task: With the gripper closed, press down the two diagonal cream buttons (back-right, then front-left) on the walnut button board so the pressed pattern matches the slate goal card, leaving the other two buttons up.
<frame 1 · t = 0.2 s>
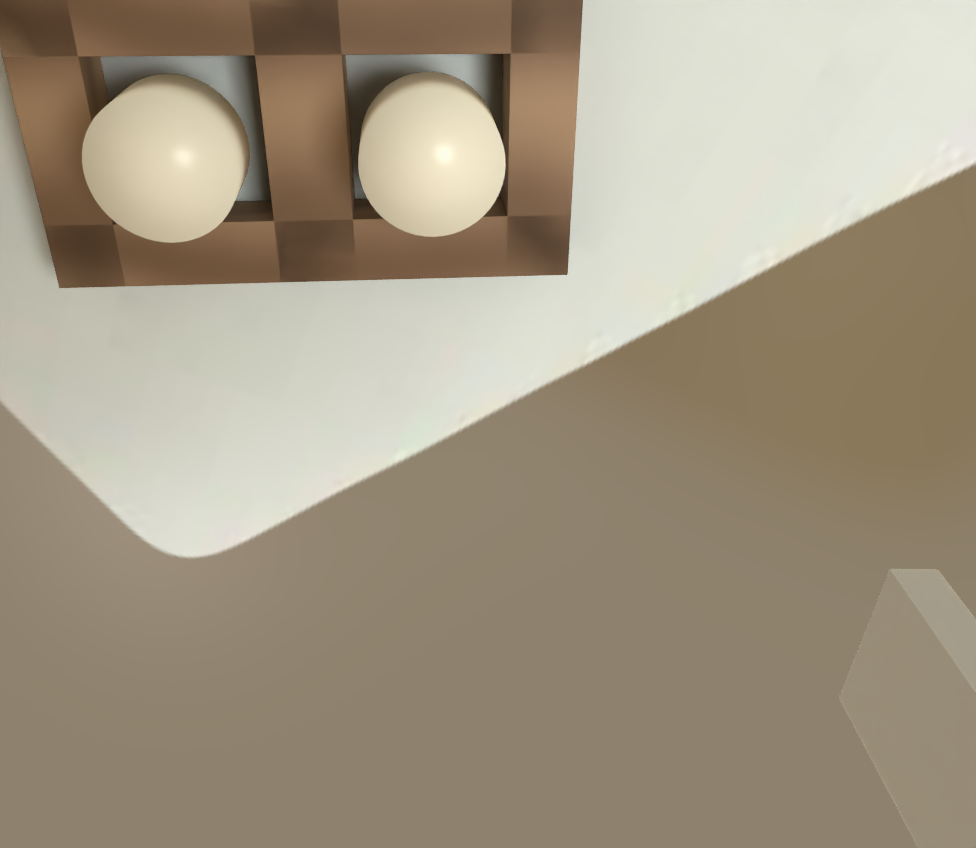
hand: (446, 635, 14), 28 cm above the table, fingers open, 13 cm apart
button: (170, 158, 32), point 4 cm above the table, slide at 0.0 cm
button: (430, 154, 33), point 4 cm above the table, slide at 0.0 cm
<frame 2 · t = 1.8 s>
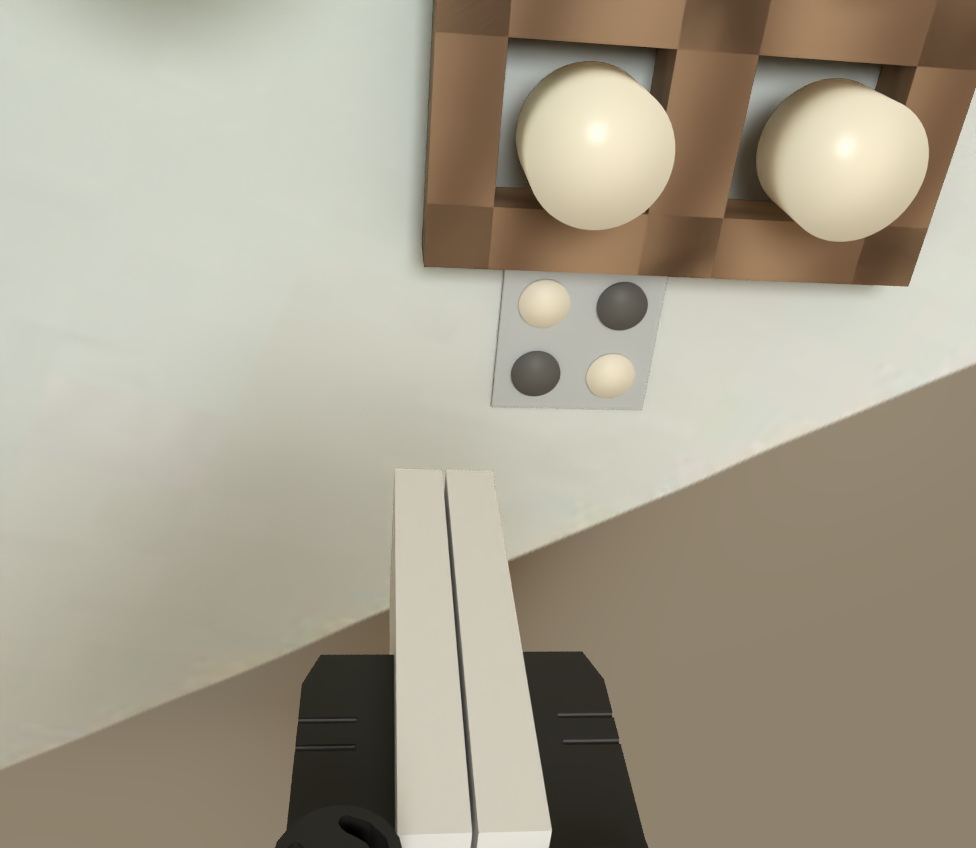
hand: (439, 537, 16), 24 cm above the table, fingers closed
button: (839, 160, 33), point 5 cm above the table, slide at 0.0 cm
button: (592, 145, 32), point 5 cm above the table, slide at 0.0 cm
goal card: (576, 336, 41), on the table
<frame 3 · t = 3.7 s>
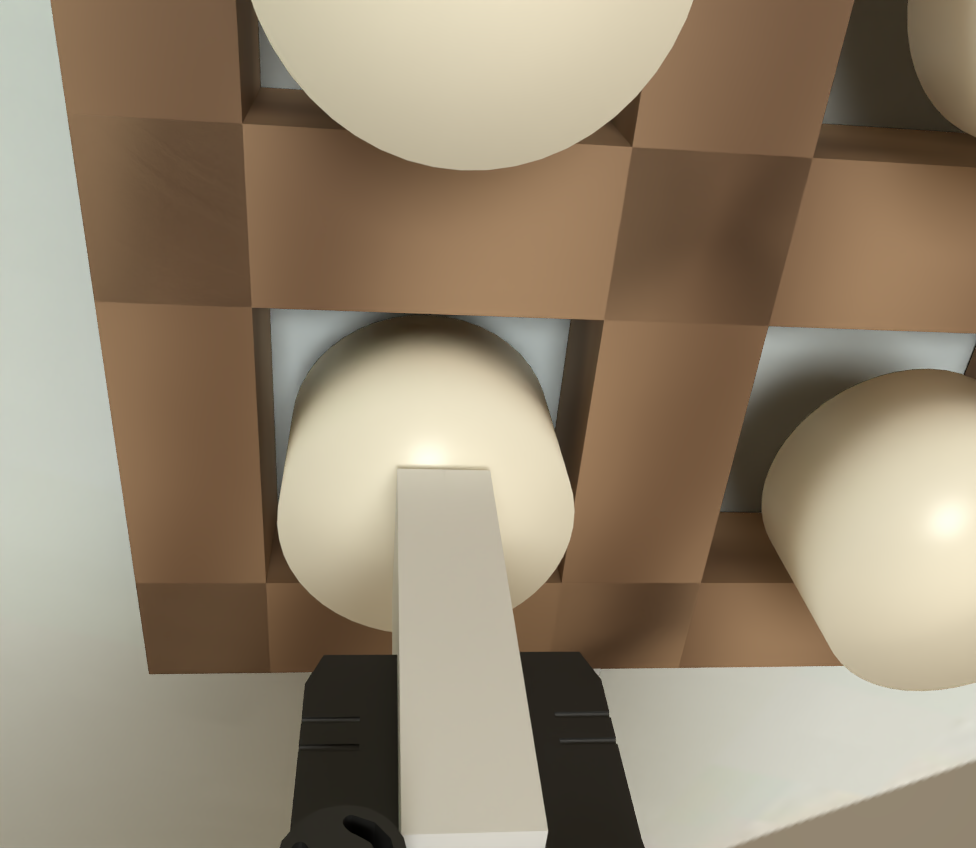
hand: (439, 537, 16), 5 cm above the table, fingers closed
board: (666, 195, 18), on the table
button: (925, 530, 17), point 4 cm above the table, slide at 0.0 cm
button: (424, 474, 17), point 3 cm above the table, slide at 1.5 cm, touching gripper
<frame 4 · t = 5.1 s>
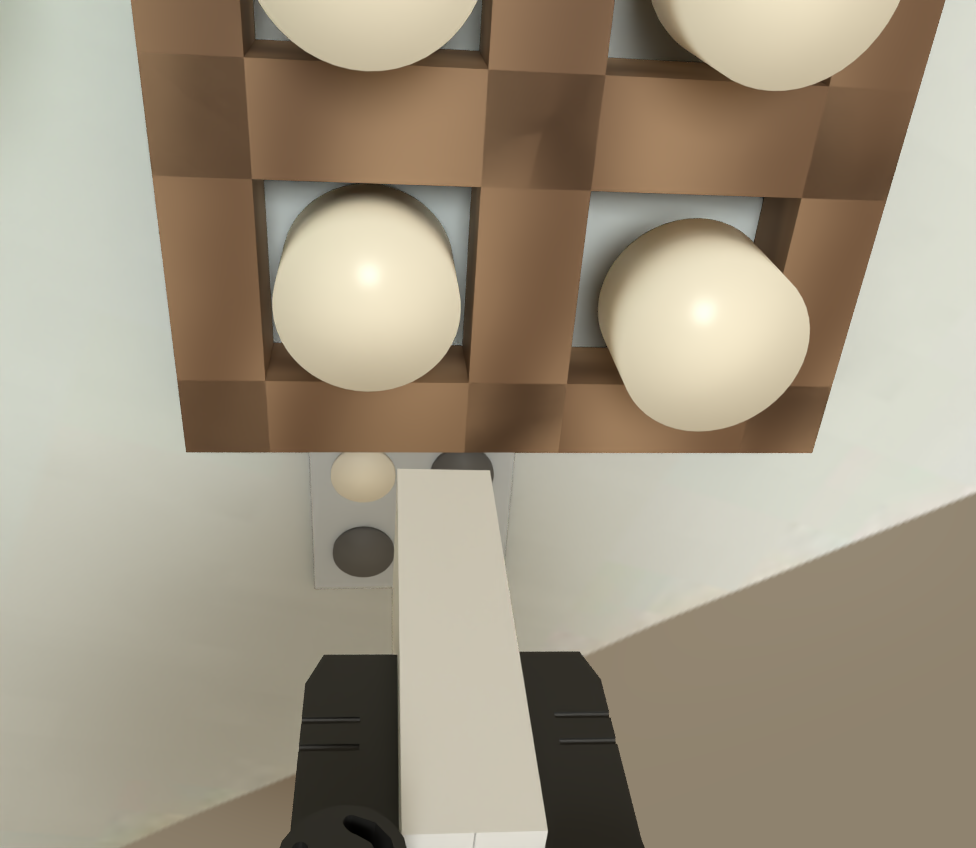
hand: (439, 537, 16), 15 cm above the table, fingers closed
board: (528, 109, 27), on the table
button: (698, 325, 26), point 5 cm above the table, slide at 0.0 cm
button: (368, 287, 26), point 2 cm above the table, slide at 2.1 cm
goal card: (411, 507, 33), on the table
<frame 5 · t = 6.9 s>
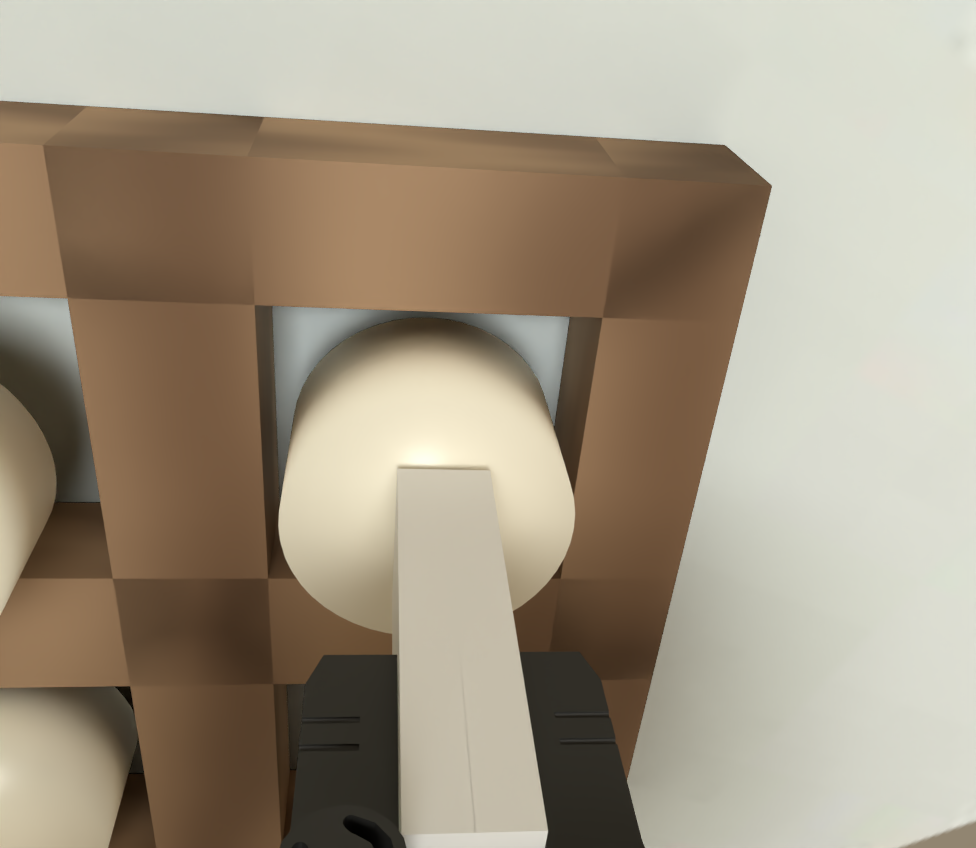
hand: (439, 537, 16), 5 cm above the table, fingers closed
board: (215, 556, 22), on the table
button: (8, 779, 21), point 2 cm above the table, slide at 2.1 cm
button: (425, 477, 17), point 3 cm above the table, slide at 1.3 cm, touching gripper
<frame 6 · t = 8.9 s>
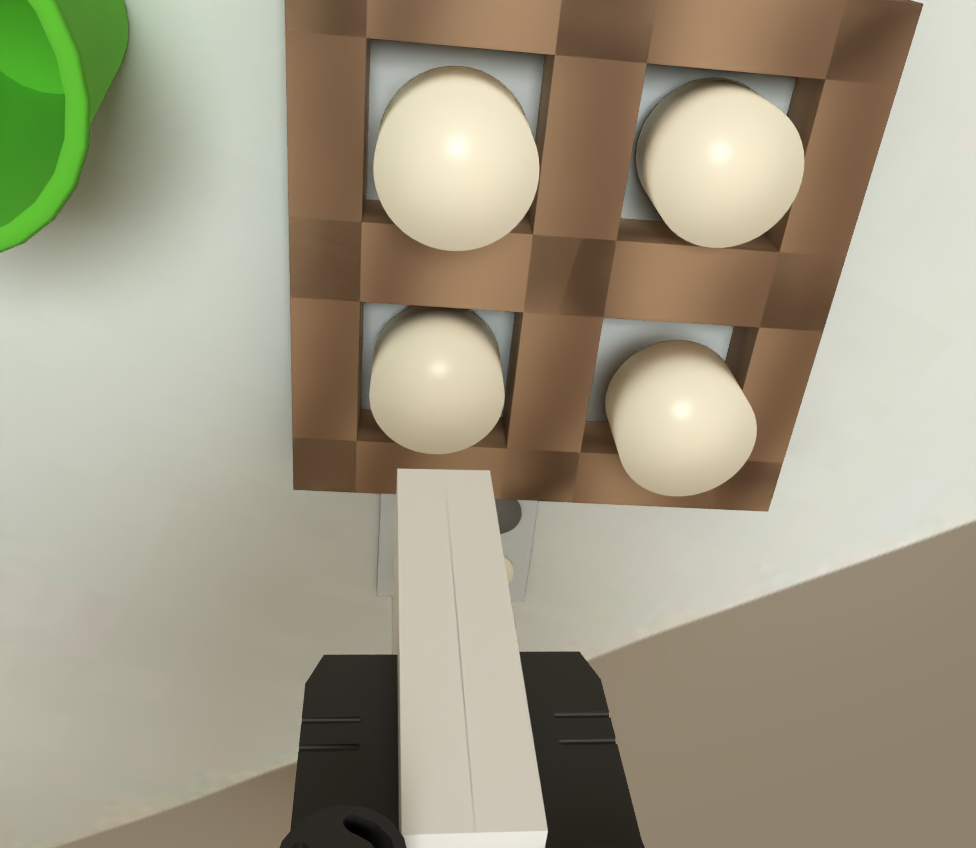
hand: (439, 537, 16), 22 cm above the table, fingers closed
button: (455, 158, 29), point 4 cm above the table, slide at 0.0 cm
board: (561, 252, 36), on the table
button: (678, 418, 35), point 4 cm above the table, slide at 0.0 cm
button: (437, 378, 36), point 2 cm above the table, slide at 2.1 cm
goal card: (456, 536, 43), on the table
cup: (51, 11, 31), on the table
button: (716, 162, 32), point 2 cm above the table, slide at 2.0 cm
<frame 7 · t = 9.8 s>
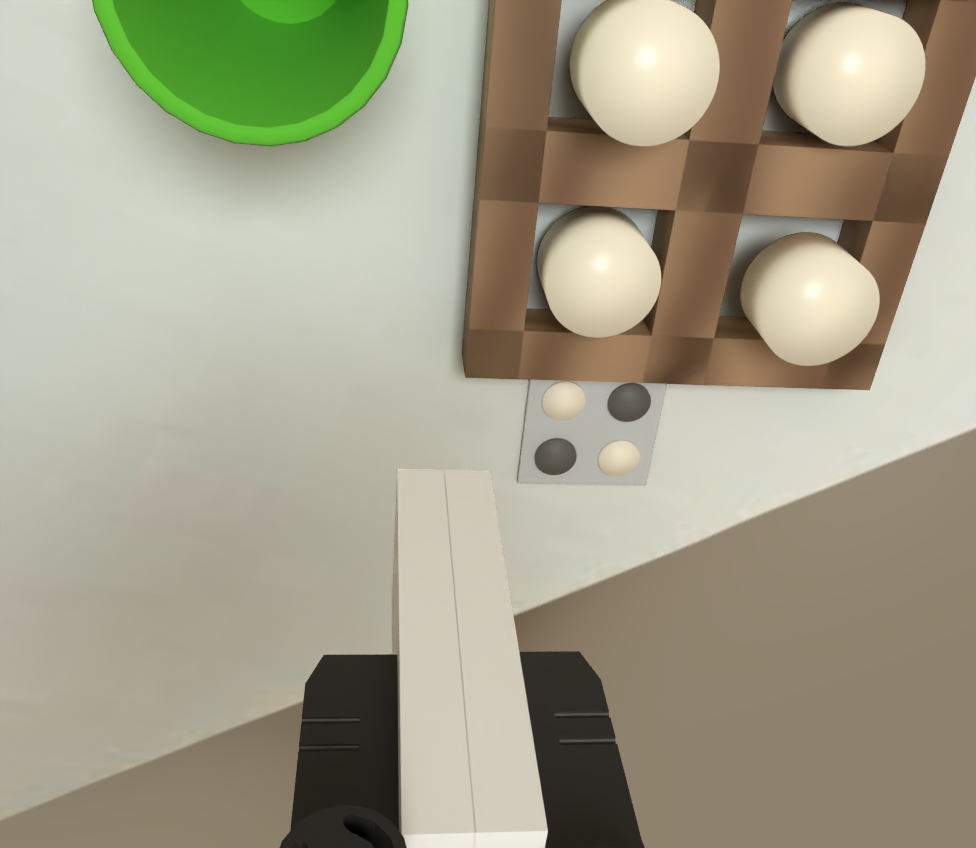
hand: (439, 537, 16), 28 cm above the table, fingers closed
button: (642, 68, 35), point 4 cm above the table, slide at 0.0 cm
board: (700, 161, 42), on the table
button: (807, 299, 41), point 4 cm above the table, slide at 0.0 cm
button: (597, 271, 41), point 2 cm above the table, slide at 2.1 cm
goal card: (590, 426, 49), on the table
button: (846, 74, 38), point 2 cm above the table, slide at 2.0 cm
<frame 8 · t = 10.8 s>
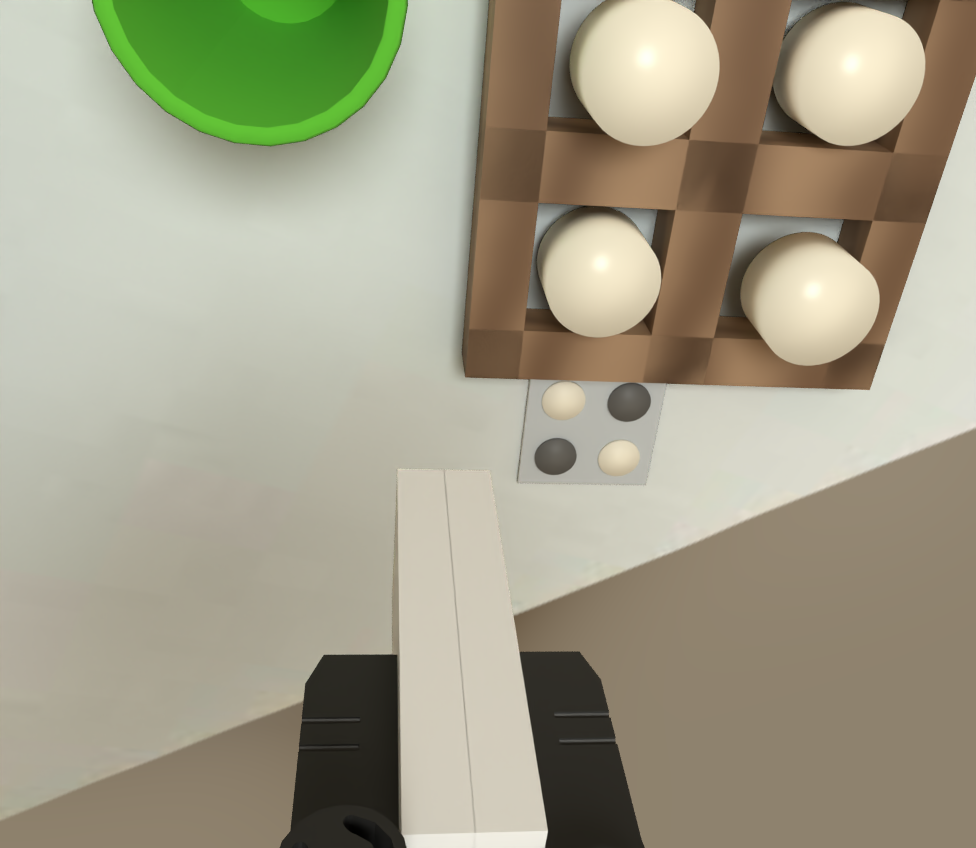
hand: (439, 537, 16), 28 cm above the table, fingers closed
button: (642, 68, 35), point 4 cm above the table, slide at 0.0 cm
board: (699, 160, 42), on the table
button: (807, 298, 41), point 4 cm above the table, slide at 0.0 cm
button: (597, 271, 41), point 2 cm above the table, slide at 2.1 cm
goal card: (590, 425, 49), on the table
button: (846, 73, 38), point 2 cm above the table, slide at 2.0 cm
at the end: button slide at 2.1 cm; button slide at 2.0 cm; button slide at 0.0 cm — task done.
